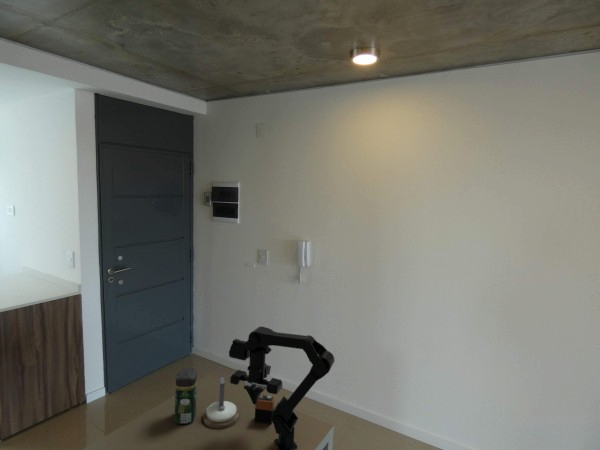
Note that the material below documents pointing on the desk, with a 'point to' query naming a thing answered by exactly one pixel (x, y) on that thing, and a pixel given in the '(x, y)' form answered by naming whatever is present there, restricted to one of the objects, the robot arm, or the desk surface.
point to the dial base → (220, 424)
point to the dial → (221, 407)
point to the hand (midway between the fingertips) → (254, 404)
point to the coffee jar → (185, 396)
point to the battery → (264, 409)
